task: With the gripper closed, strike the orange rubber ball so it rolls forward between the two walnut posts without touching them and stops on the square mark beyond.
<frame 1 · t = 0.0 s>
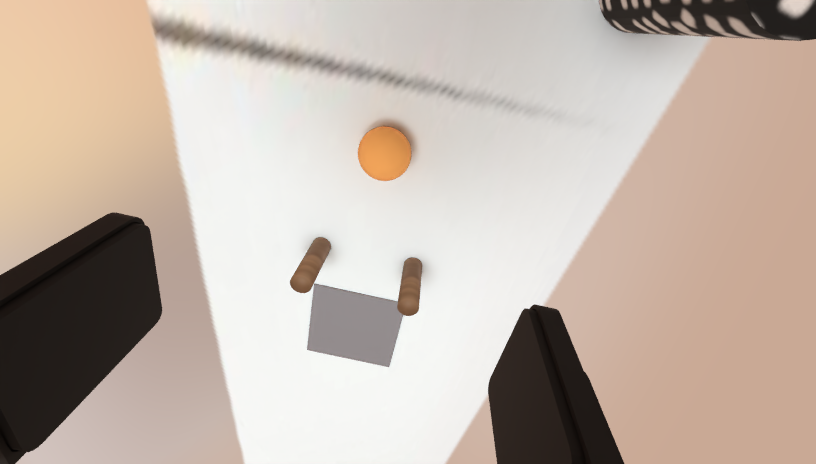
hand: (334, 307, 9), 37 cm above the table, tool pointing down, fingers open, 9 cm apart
post 1: (321, 245, 53), on the table
ball: (384, 154, 42), on the table
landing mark: (354, 327, 60), on the table
post 2: (412, 265, 53), on the table
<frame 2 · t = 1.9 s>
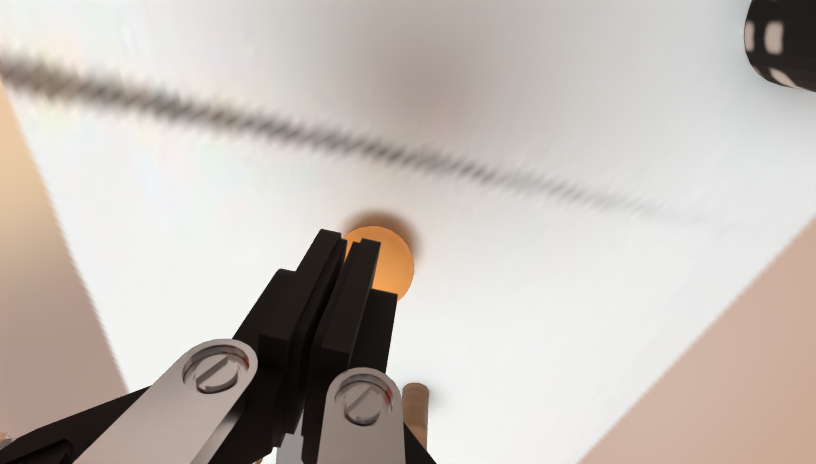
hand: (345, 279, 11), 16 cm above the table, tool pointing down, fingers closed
ball: (372, 267, 27), on the table
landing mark: (336, 455, 44), on the table
post 2: (415, 391, 38), on the table
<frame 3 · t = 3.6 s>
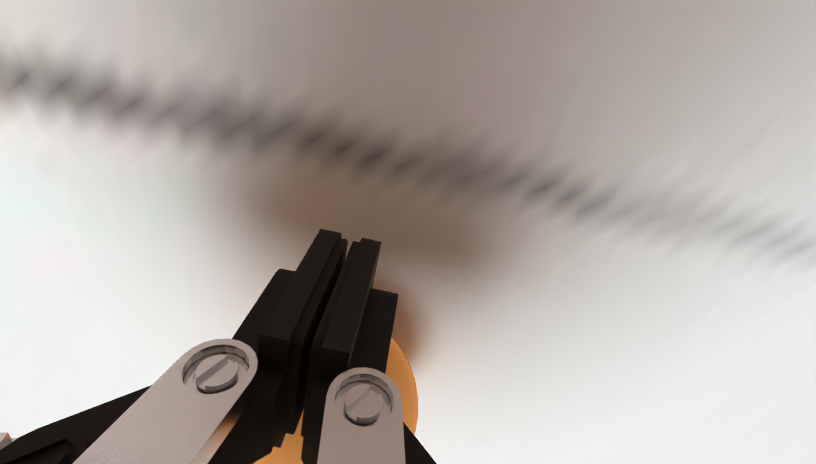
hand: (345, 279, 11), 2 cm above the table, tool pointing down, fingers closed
ball: (325, 404, 12), on the table, touching gripper
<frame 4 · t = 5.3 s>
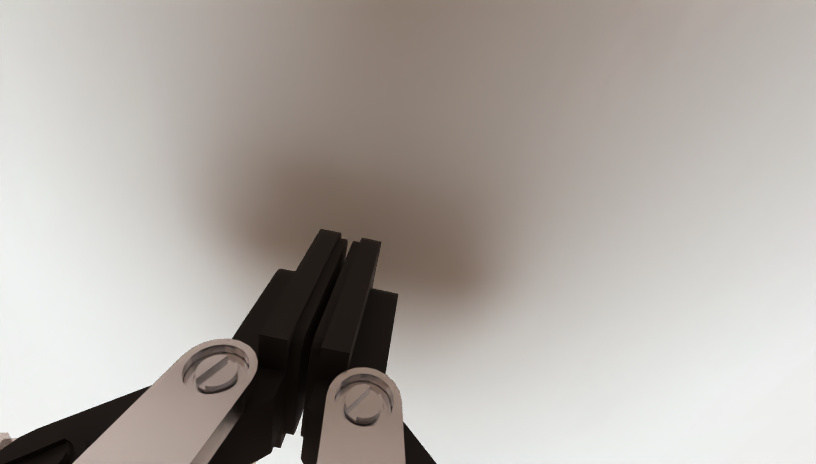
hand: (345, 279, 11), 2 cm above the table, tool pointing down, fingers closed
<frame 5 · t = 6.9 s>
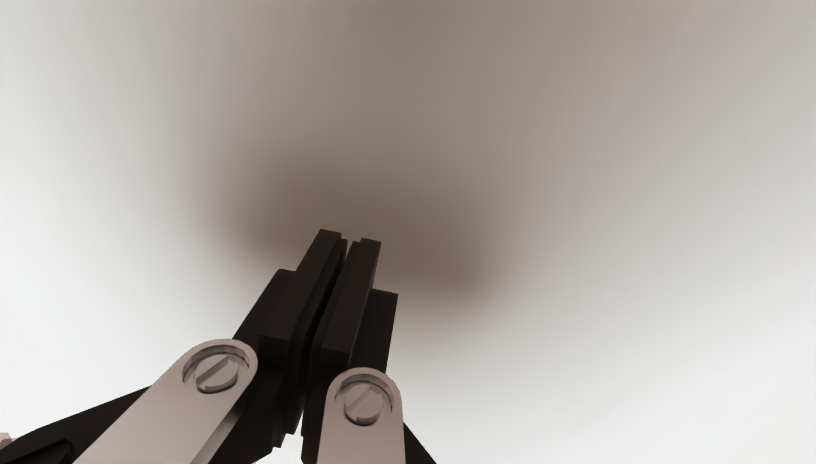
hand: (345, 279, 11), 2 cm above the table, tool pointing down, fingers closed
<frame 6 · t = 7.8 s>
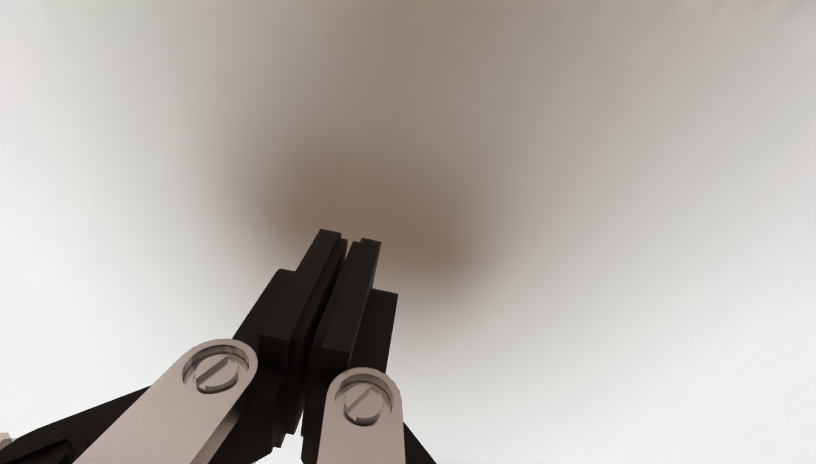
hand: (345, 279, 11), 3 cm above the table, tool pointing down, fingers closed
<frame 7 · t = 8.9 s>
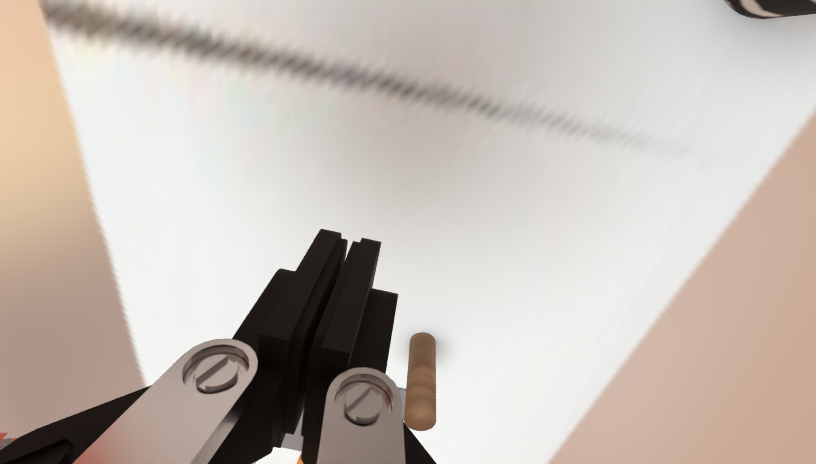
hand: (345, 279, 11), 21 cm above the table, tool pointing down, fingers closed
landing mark: (341, 419, 44), on the table
post 2: (422, 342, 39), on the table
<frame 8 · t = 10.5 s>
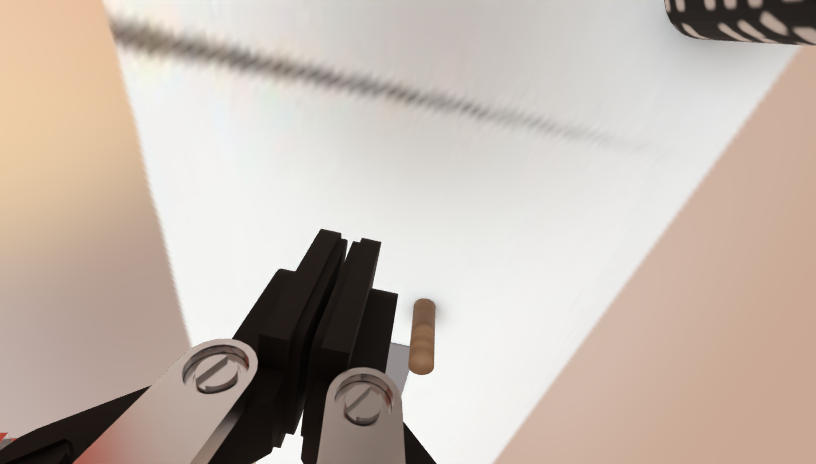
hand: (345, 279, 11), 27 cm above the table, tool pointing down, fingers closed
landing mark: (355, 372, 52), on the table
post 2: (424, 307, 46), on the table
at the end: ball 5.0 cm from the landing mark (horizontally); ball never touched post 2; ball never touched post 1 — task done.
